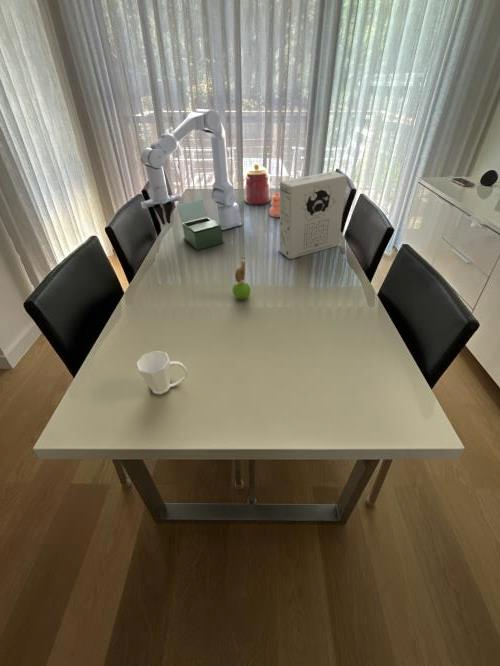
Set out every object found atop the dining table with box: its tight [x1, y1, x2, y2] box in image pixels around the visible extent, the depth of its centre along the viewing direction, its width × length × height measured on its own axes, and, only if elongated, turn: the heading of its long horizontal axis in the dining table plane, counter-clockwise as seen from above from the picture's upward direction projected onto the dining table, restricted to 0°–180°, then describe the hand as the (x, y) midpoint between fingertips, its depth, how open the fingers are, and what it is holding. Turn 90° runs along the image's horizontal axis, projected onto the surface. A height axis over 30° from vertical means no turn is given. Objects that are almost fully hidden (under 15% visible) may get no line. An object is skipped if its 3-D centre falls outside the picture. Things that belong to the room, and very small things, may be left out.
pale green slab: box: [176, 199, 208, 222], centre depth 137 cm, size 6×11×1 cm
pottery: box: [269, 191, 280, 218], centre depth 154 cm, size 18×10×10 cm, turn 94°
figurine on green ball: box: [231, 256, 251, 300], centre depth 100 cm, size 5×6×12 cm
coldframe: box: [181, 216, 224, 251], centre depth 136 cm, size 13×11×7 cm
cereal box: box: [279, 170, 348, 260], centre depth 120 cm, size 22×8×25 cm, turn 115°
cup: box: [135, 350, 188, 395], centre depth 74 cm, size 7×10×8 cm
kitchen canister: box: [243, 162, 271, 206], centre depth 168 cm, size 13×13×18 cm
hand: (166, 223), depth 130 cm, fingers closed
